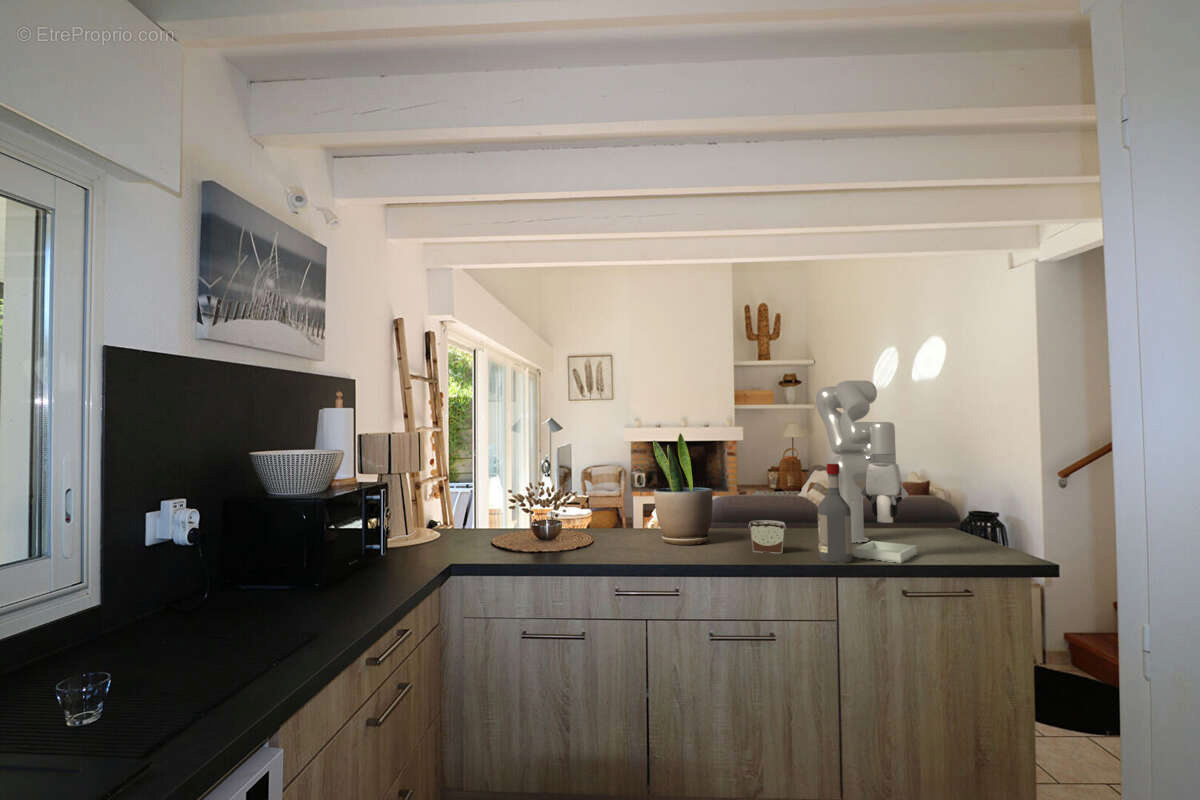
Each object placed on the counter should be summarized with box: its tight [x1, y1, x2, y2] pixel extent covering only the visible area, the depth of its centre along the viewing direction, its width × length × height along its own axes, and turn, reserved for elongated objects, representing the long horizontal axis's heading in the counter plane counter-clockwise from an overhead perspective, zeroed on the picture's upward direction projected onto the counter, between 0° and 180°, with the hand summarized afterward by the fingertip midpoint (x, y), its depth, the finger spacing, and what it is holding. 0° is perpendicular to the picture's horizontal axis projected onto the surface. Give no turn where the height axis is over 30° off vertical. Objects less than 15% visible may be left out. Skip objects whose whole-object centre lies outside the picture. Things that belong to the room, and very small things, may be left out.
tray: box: [853, 540, 918, 564], centre depth 202 cm, size 14×18×3 cm
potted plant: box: [652, 432, 714, 546], centre depth 231 cm, size 21×22×40 cm
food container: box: [748, 519, 787, 554], centre depth 212 cm, size 12×6×10 cm, turn 71°
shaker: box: [876, 495, 894, 524], centre depth 202 cm, size 5×5×11 cm
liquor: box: [817, 463, 853, 564], centre depth 196 cm, size 9×9×30 cm
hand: (885, 515), depth 202 cm, fingers closed on shaker, 4 cm apart
